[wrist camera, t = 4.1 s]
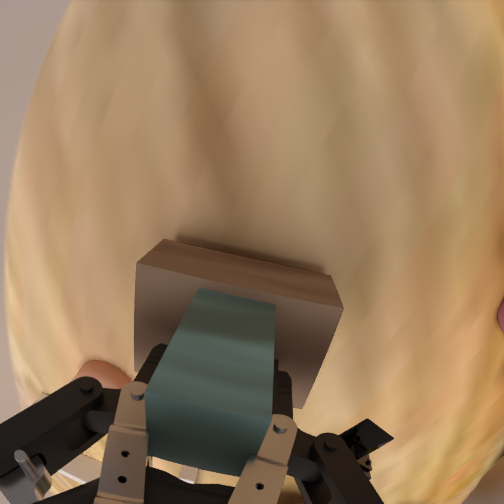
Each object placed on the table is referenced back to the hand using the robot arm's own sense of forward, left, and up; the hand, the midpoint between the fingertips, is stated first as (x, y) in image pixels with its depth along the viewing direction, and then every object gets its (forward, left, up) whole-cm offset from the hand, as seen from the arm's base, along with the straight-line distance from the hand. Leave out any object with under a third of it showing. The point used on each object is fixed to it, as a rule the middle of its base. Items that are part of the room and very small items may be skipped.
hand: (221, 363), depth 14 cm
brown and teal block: (0, 0, -5) cm, 5 cm away
